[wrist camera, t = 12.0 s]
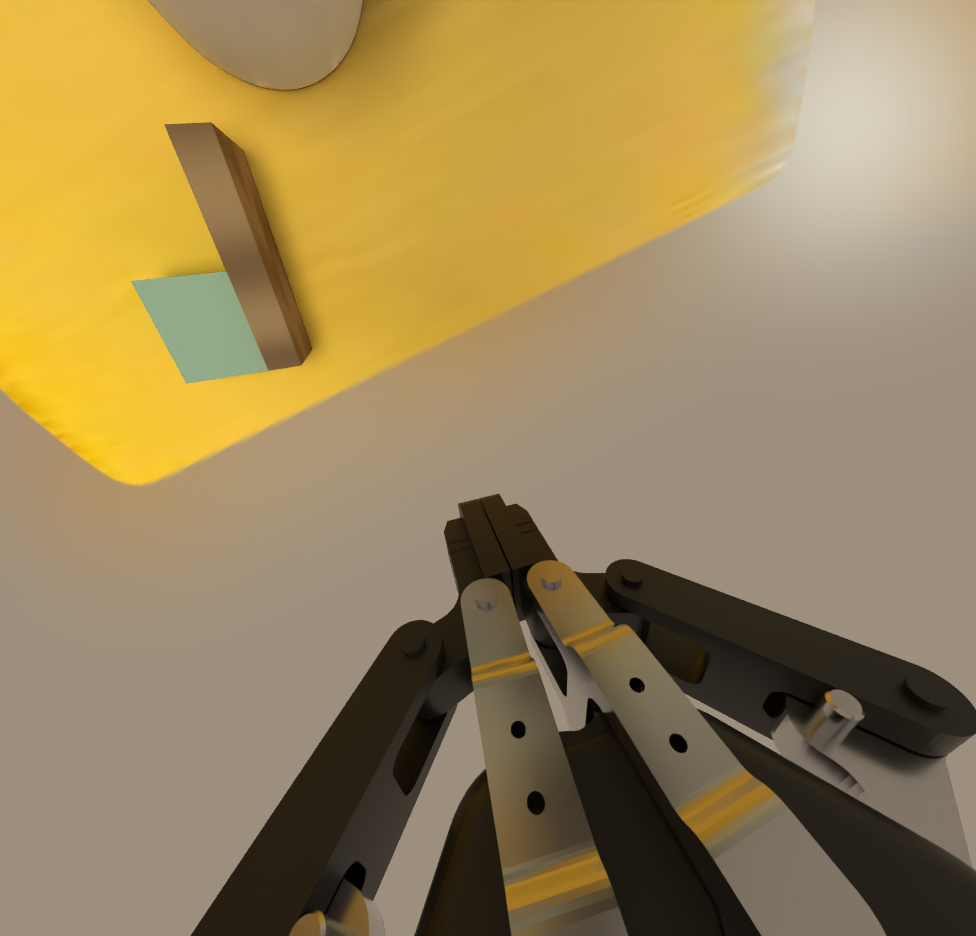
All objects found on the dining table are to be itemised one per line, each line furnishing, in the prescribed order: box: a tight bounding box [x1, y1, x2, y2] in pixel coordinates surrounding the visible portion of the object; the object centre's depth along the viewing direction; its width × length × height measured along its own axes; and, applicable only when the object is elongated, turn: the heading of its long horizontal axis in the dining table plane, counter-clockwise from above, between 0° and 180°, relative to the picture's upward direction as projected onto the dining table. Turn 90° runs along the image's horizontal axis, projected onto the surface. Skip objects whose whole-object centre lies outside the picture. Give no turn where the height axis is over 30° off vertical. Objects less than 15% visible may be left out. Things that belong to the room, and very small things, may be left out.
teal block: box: [131, 271, 271, 383], centre depth 28 cm, size 7×6×5 cm
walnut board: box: [164, 123, 312, 371], centre depth 26 cm, size 14×2×6 cm, turn 6°
